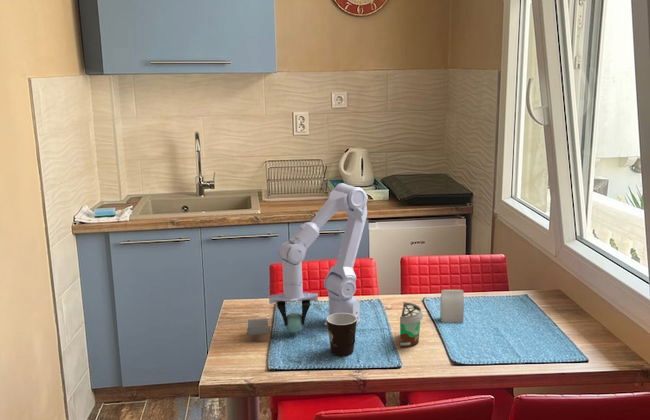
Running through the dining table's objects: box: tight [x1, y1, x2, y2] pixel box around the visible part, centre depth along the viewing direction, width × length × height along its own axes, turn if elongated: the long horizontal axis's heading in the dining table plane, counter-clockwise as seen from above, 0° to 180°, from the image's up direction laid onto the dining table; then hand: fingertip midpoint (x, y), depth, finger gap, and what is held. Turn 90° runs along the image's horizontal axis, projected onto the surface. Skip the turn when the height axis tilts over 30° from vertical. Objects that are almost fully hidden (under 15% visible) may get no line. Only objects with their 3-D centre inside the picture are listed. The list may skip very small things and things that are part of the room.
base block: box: [245, 325, 272, 344], centre depth 195 cm, size 7×7×2 cm
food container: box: [399, 301, 424, 349], centre depth 189 cm, size 12×6×10 cm, turn 168°
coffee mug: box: [326, 313, 358, 357], centre depth 182 cm, size 12×9×10 cm
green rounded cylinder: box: [286, 312, 303, 332], centre depth 195 cm, size 5×5×4 cm
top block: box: [247, 318, 269, 335], centre depth 195 cm, size 6×6×2 cm
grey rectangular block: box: [439, 289, 465, 323], centre depth 204 cm, size 4×7×10 cm, turn 87°
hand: (294, 324), depth 196 cm, fingers closed on green rounded cylinder, 5 cm apart
